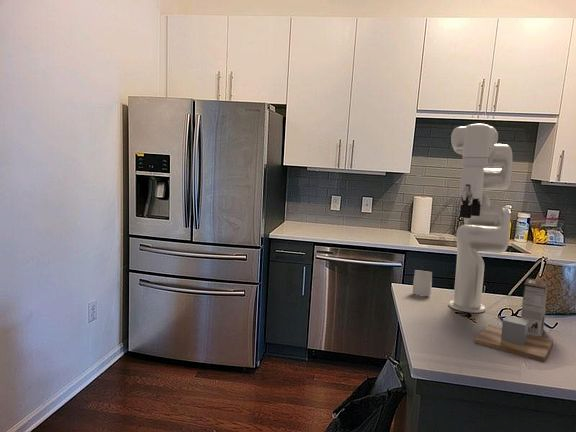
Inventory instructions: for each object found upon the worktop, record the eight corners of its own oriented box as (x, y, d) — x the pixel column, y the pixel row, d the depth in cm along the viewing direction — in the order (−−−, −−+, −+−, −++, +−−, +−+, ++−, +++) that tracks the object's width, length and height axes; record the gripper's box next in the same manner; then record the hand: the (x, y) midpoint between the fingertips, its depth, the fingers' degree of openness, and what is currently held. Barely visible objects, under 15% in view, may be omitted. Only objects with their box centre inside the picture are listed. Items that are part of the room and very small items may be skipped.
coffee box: (522, 324, 145) (526, 277, 143) (544, 328, 141) (549, 281, 139) (518, 332, 137) (523, 283, 135) (541, 337, 134) (546, 287, 132)
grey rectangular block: (429, 297, 172) (431, 273, 171) (412, 294, 175) (414, 270, 174) (430, 295, 175) (432, 271, 174) (414, 292, 178) (415, 269, 177)
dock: (488, 328, 140) (490, 314, 139) (552, 344, 128) (554, 329, 128) (474, 342, 127) (476, 327, 127) (544, 361, 116) (545, 345, 116)
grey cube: (505, 333, 132) (507, 315, 131) (527, 339, 128) (529, 320, 128) (500, 339, 127) (502, 320, 127) (523, 345, 124) (525, 325, 123)
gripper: (470, 164, 145) (466, 213, 147) (453, 162, 132) (449, 217, 134) (494, 164, 141) (489, 216, 143) (479, 163, 127) (474, 219, 129)
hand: (470, 216), depth 138 cm, fingers open, 9 cm apart
